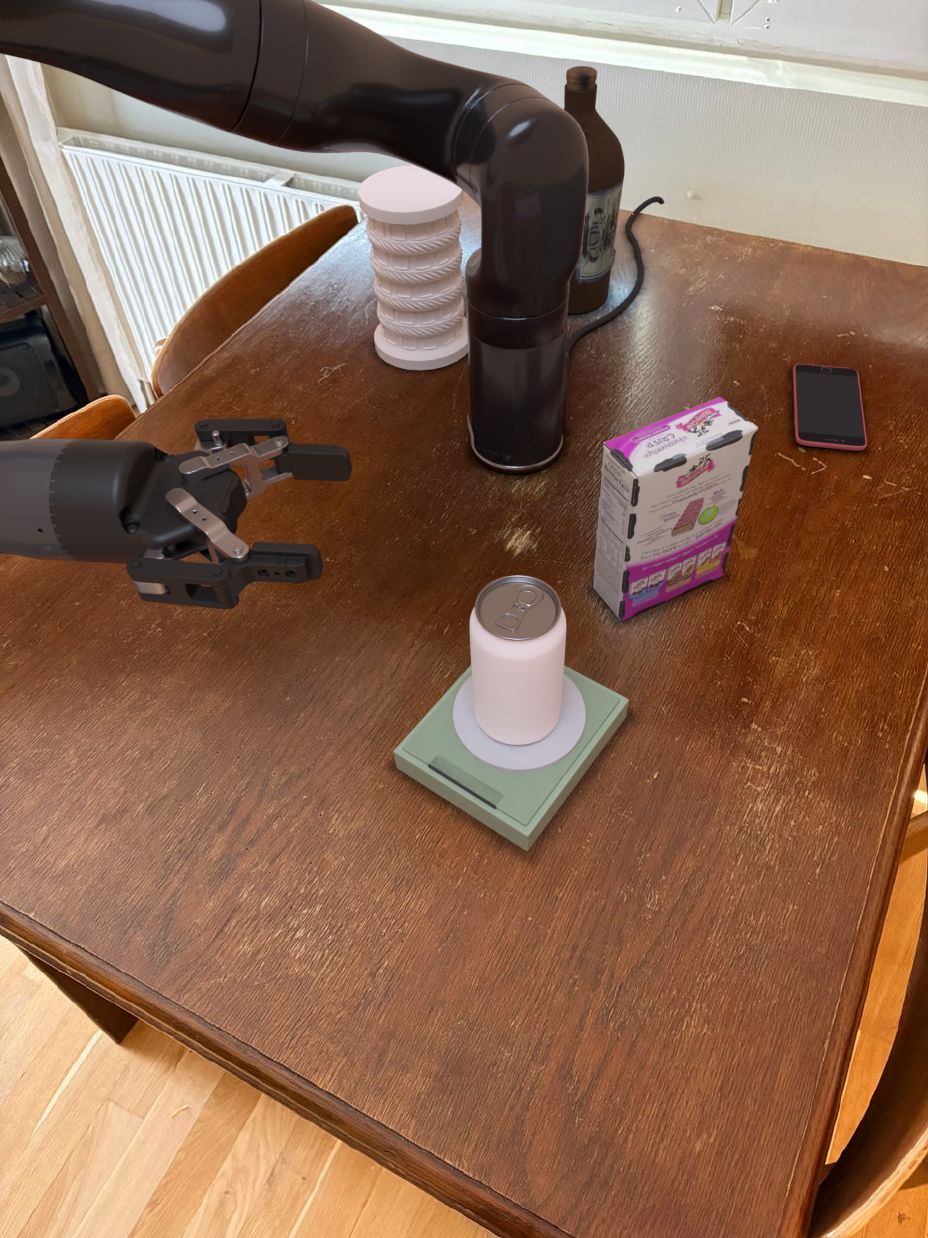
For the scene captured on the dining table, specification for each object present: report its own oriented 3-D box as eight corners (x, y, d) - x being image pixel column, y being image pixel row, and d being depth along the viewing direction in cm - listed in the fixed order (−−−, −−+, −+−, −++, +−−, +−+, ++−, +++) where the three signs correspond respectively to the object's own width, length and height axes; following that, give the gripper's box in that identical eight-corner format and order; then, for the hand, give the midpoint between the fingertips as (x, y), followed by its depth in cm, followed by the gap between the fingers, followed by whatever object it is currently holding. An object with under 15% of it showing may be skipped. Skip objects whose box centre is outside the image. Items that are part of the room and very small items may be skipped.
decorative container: (355, 342, 106) (331, 189, 93) (429, 305, 111) (416, 153, 98) (418, 382, 101) (403, 225, 87) (493, 341, 105) (489, 185, 92)
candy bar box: (690, 543, 82) (721, 392, 70) (724, 577, 79) (763, 427, 67) (587, 587, 79) (600, 438, 67) (618, 624, 76) (639, 476, 64)
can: (575, 698, 68) (585, 591, 59) (534, 762, 64) (538, 659, 55) (501, 665, 70) (499, 557, 61) (457, 725, 67) (449, 620, 57)
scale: (500, 649, 75) (500, 624, 73) (626, 717, 70) (630, 693, 68) (395, 768, 68) (391, 745, 66) (527, 852, 63) (527, 831, 61)
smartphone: (859, 367, 98) (868, 448, 89) (857, 372, 98) (867, 452, 89) (792, 362, 99) (795, 441, 90) (791, 366, 99) (794, 445, 90)
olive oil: (509, 296, 112) (508, 73, 93) (566, 264, 116) (576, 45, 97) (573, 328, 106) (587, 98, 87) (630, 293, 111) (655, 67, 92)
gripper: (1, 538, 48) (296, 551, 46) (99, 380, 57) (349, 386, 55) (56, 628, 54) (321, 642, 52) (138, 471, 63) (365, 479, 61)
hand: (335, 510), depth 53 cm, fingers open, 8 cm apart
